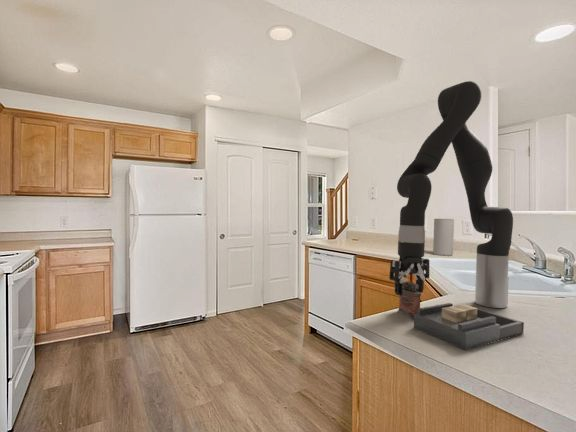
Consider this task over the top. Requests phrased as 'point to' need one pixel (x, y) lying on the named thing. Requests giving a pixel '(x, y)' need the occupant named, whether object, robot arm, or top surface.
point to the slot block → (456, 328)
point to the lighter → (409, 299)
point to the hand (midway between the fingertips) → (409, 293)
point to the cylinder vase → (443, 237)
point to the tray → (504, 324)
